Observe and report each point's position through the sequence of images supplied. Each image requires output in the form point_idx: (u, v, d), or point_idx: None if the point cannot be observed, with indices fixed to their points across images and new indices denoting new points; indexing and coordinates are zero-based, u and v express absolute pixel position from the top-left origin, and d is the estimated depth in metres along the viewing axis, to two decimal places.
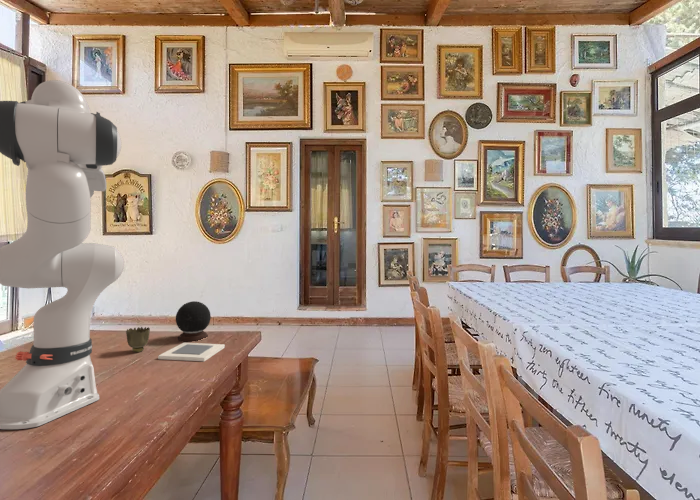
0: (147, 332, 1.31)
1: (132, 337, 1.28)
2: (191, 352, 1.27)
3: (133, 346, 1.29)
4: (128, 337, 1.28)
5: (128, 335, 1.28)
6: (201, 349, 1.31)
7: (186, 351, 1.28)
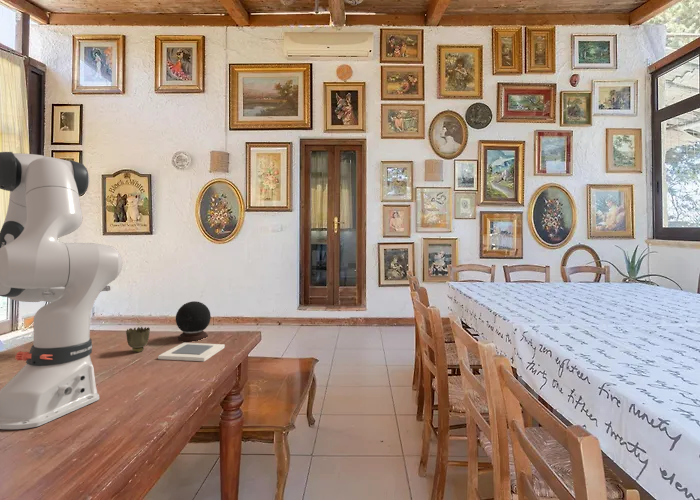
0: (147, 332, 1.31)
1: (132, 337, 1.28)
2: (191, 352, 1.27)
3: (133, 346, 1.29)
4: (128, 337, 1.28)
5: (128, 335, 1.28)
6: (201, 349, 1.31)
7: (186, 351, 1.28)
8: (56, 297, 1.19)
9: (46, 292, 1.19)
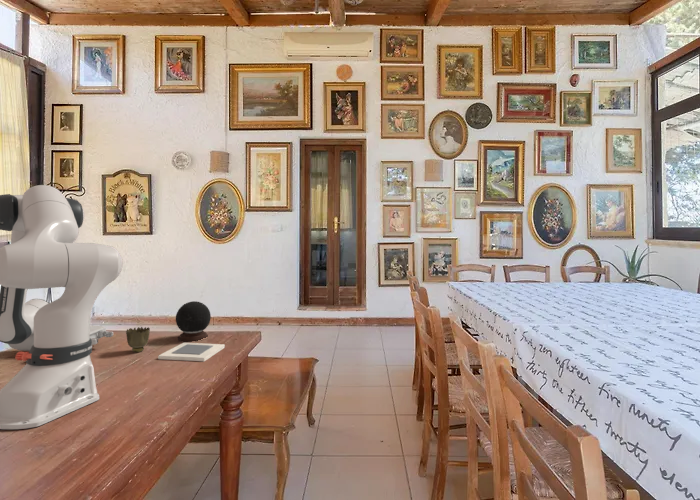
0: (147, 332, 1.31)
1: (132, 337, 1.28)
2: (191, 352, 1.27)
3: (133, 346, 1.29)
4: (128, 337, 1.28)
5: (128, 335, 1.28)
6: (201, 349, 1.31)
7: (186, 351, 1.28)
8: None
9: None
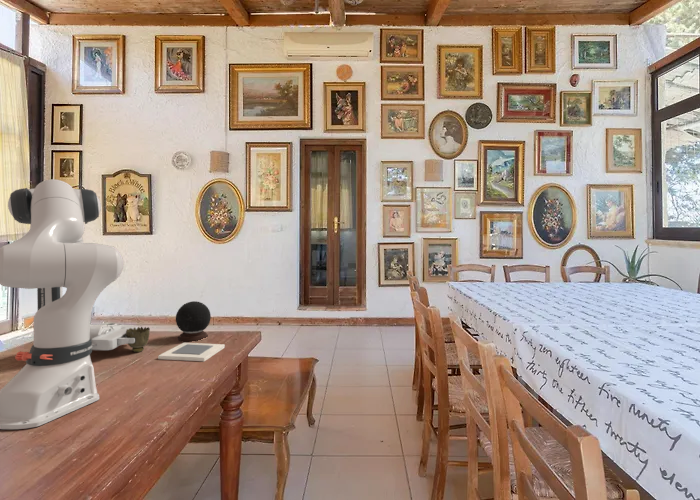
0: (147, 332, 1.31)
1: None
2: (191, 352, 1.27)
3: (133, 346, 1.29)
4: (128, 337, 1.28)
5: (128, 335, 1.28)
6: (201, 349, 1.31)
7: (186, 351, 1.28)
8: (98, 348, 1.21)
9: None
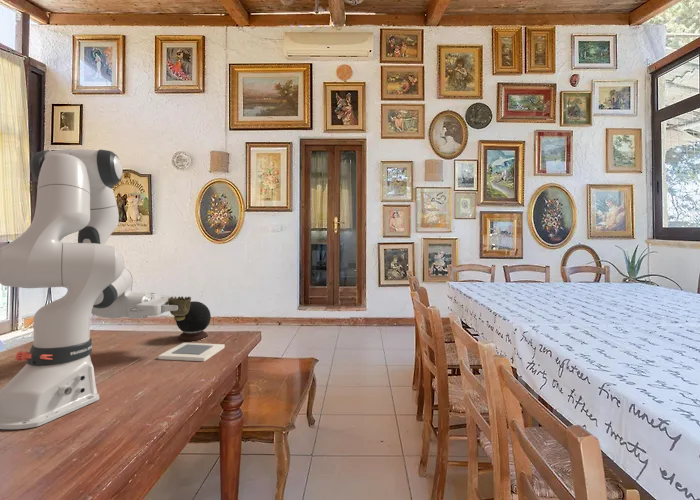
0: (189, 300, 1.30)
1: None
2: (191, 352, 1.27)
3: (175, 314, 1.28)
4: None
5: (171, 303, 1.27)
6: (201, 349, 1.31)
7: (186, 351, 1.28)
8: (144, 314, 1.20)
9: (134, 309, 1.20)
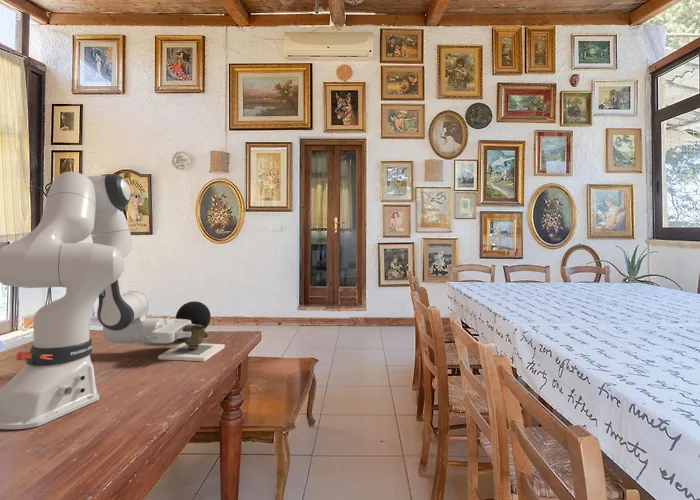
0: (203, 330, 1.30)
1: None
2: (191, 352, 1.27)
3: (190, 344, 1.28)
4: None
5: None
6: (201, 349, 1.31)
7: (186, 351, 1.28)
8: (158, 341, 1.20)
9: (148, 336, 1.20)
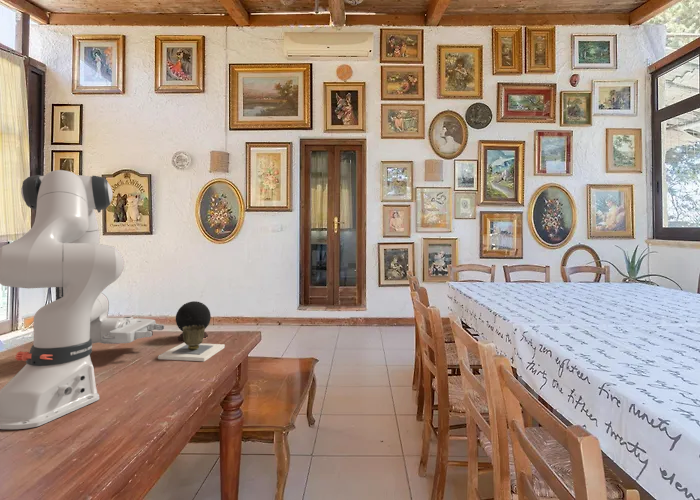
0: (203, 330, 1.30)
1: (189, 335, 1.27)
2: (191, 352, 1.27)
3: (190, 344, 1.28)
4: (185, 335, 1.27)
5: (185, 333, 1.27)
6: (201, 349, 1.31)
7: (186, 351, 1.28)
8: (116, 341, 1.19)
9: (106, 336, 1.19)
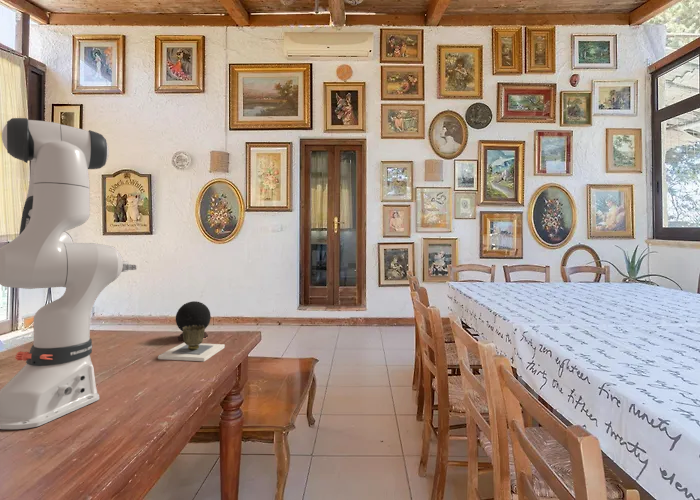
0: (203, 330, 1.30)
1: (189, 335, 1.27)
2: (191, 352, 1.27)
3: (190, 344, 1.28)
4: (185, 335, 1.27)
5: (185, 333, 1.27)
6: (201, 349, 1.31)
7: (186, 351, 1.28)
8: None
9: None
